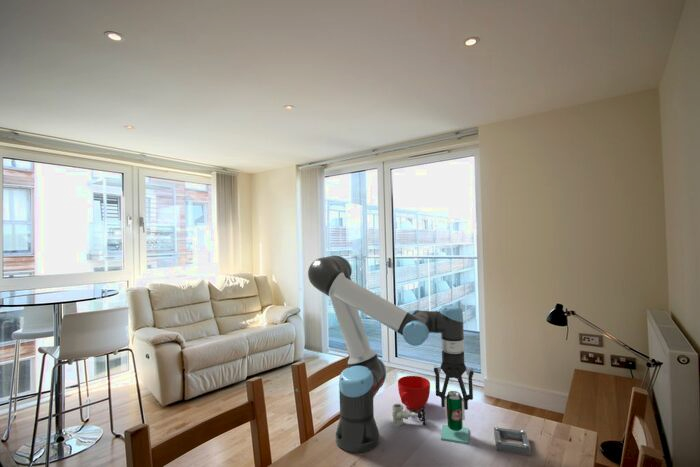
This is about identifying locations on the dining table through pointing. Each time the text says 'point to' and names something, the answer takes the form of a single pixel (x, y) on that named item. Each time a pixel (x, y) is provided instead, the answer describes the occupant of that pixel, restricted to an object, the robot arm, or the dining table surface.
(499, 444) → the frame
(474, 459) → the dining table surface
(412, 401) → the ceramic cup
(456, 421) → the soda can
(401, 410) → the valve
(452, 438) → the pad
